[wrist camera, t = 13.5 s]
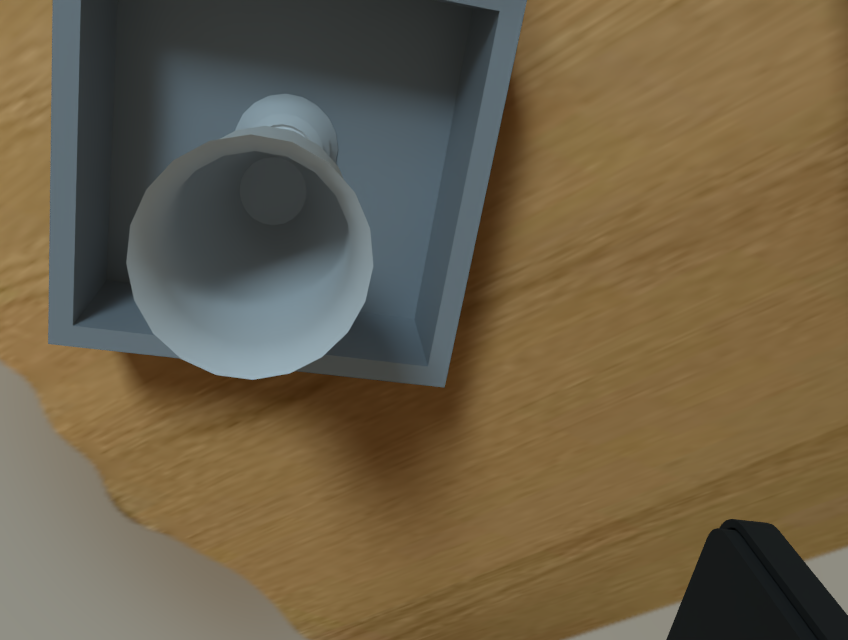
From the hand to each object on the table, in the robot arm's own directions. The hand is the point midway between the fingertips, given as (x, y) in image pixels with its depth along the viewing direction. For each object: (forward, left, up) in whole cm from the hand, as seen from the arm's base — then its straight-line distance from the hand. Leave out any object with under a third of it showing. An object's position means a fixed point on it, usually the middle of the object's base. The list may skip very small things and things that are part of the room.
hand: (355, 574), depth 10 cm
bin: (+2, +1, -33) cm, 33 cm away
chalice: (+2, +1, -32) cm, 32 cm away
